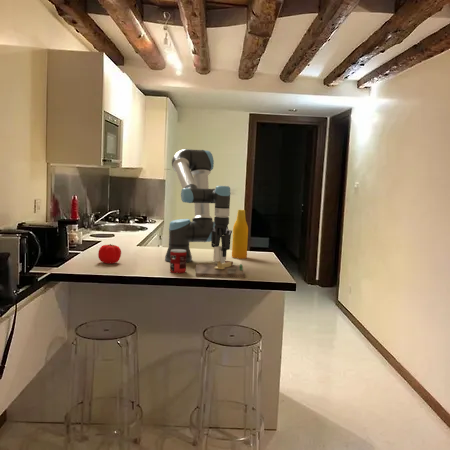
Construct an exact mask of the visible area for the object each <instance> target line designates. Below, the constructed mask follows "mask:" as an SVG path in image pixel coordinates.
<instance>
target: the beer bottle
mask: <svg viewBox="0 0 450 450" xmlns="http://www.w3.org/2000/svg"><path fill="white" fill-rule="evenodd" d="M246 220H247V219H246V210H245V209H237V215H236V219H235V221H234V223H233V227H232V241H231V242H232V244H231V245H232V246H231V257H232V259H237V260H243V259H244V260H245V259H247V257H248V239H249V226H248V222H247V221H246Z"/></svg>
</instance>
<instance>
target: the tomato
mask: <svg viewBox="0 0 450 450" xmlns="http://www.w3.org/2000/svg"><path fill="white" fill-rule="evenodd" d="M97 256H98V260H99V261H100V262H101V263H103V264H111V265H112V264H116V263H118V262H119V260H120V258H121V256H122V250H121V248H120V247H119V246H117V245H115V244H111V243H110V244H104V245H101V247H100V248H99V249H98V253H97Z"/></svg>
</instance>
